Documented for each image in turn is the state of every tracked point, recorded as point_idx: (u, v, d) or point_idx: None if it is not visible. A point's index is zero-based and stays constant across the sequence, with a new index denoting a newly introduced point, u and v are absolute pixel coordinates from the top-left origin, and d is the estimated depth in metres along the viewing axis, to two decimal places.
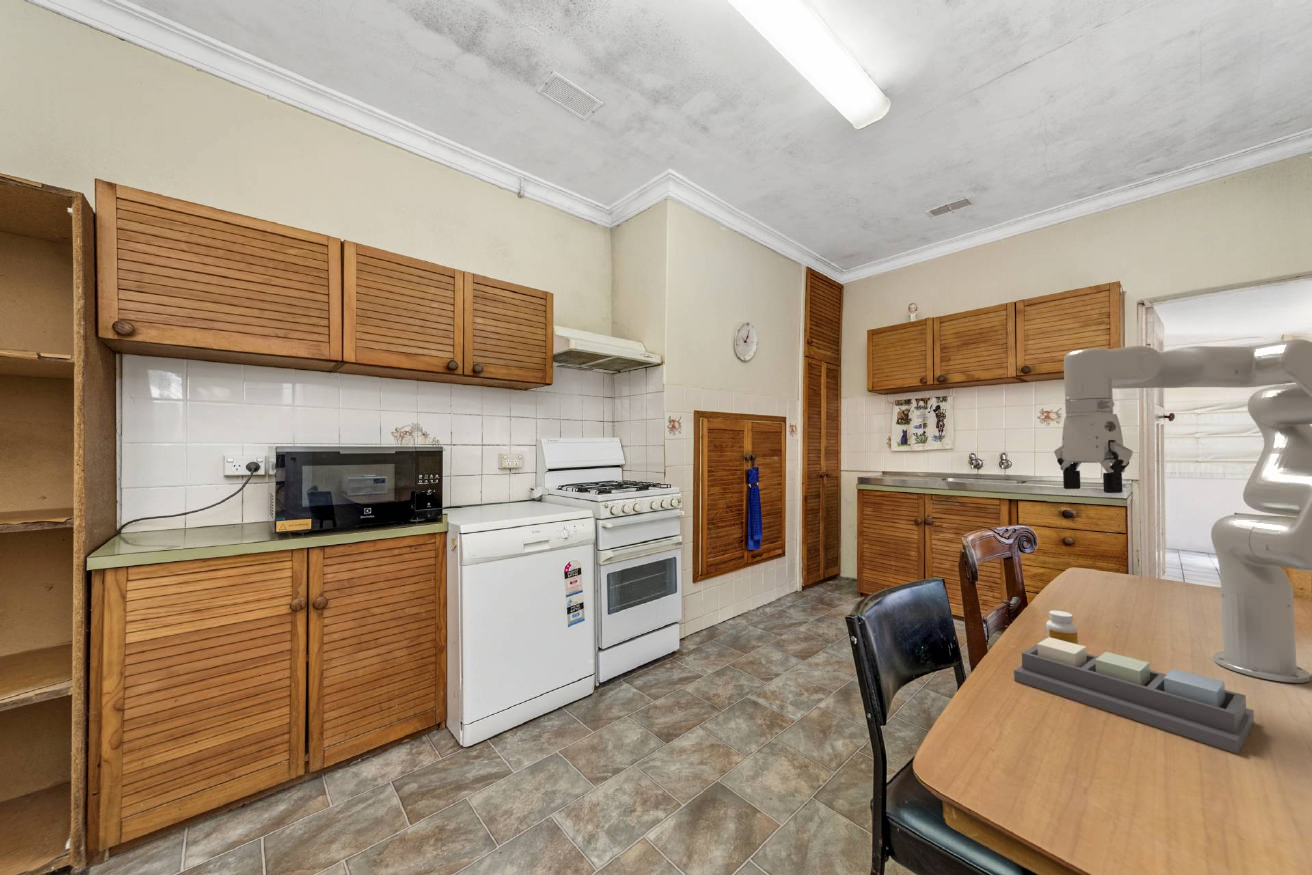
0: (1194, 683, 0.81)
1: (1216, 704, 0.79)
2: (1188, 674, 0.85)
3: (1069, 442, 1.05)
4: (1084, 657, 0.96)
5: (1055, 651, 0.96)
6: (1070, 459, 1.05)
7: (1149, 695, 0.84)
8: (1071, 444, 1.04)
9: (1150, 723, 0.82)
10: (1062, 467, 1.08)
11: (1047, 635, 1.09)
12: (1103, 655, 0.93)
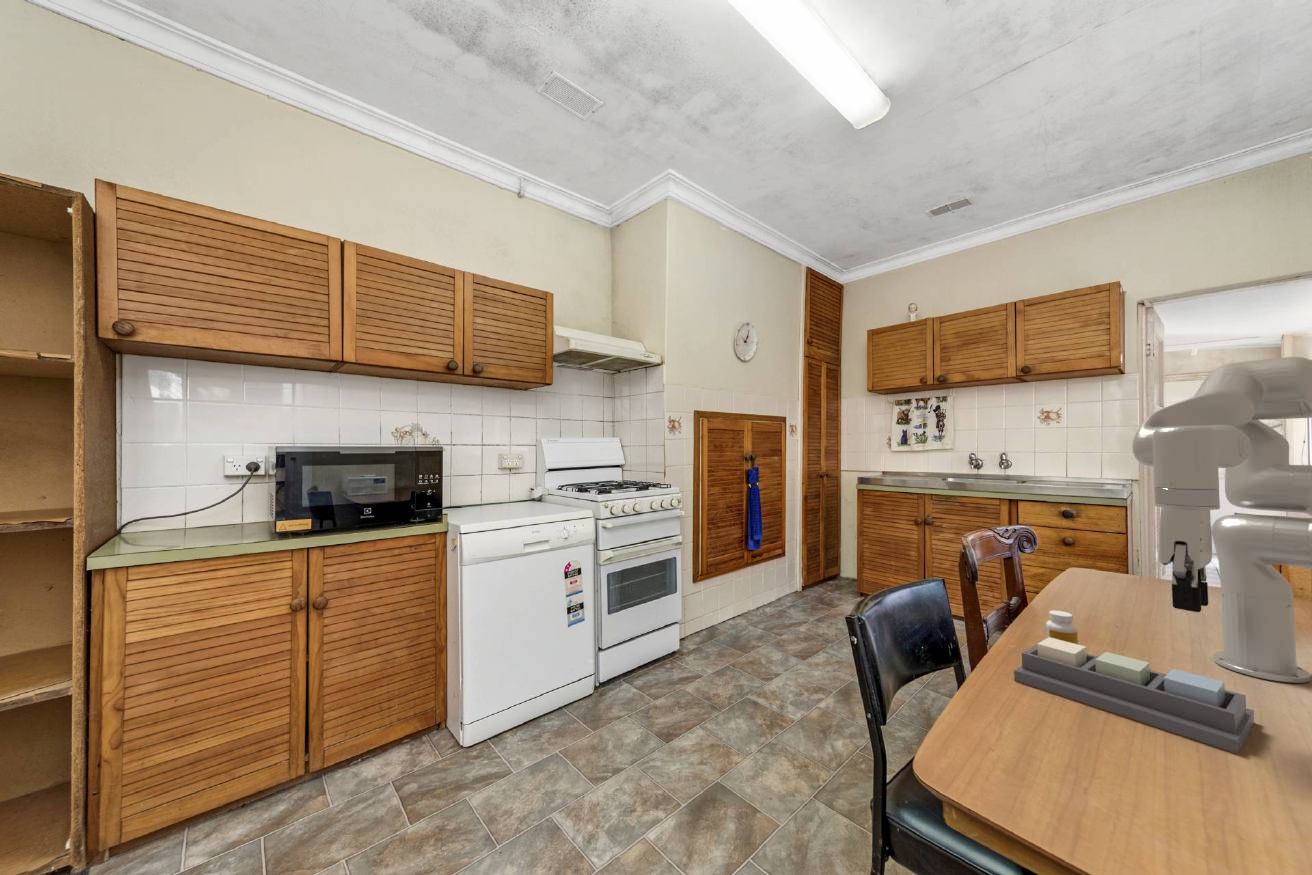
0: (1194, 683, 0.81)
1: (1216, 704, 0.79)
2: (1188, 674, 0.85)
3: (1205, 543, 0.80)
4: (1084, 657, 0.96)
5: (1055, 651, 0.96)
6: (1203, 565, 0.80)
7: (1149, 695, 0.84)
8: (1206, 545, 0.80)
9: (1150, 723, 0.82)
10: (1194, 584, 0.80)
11: (1047, 635, 1.09)
12: (1103, 655, 0.93)
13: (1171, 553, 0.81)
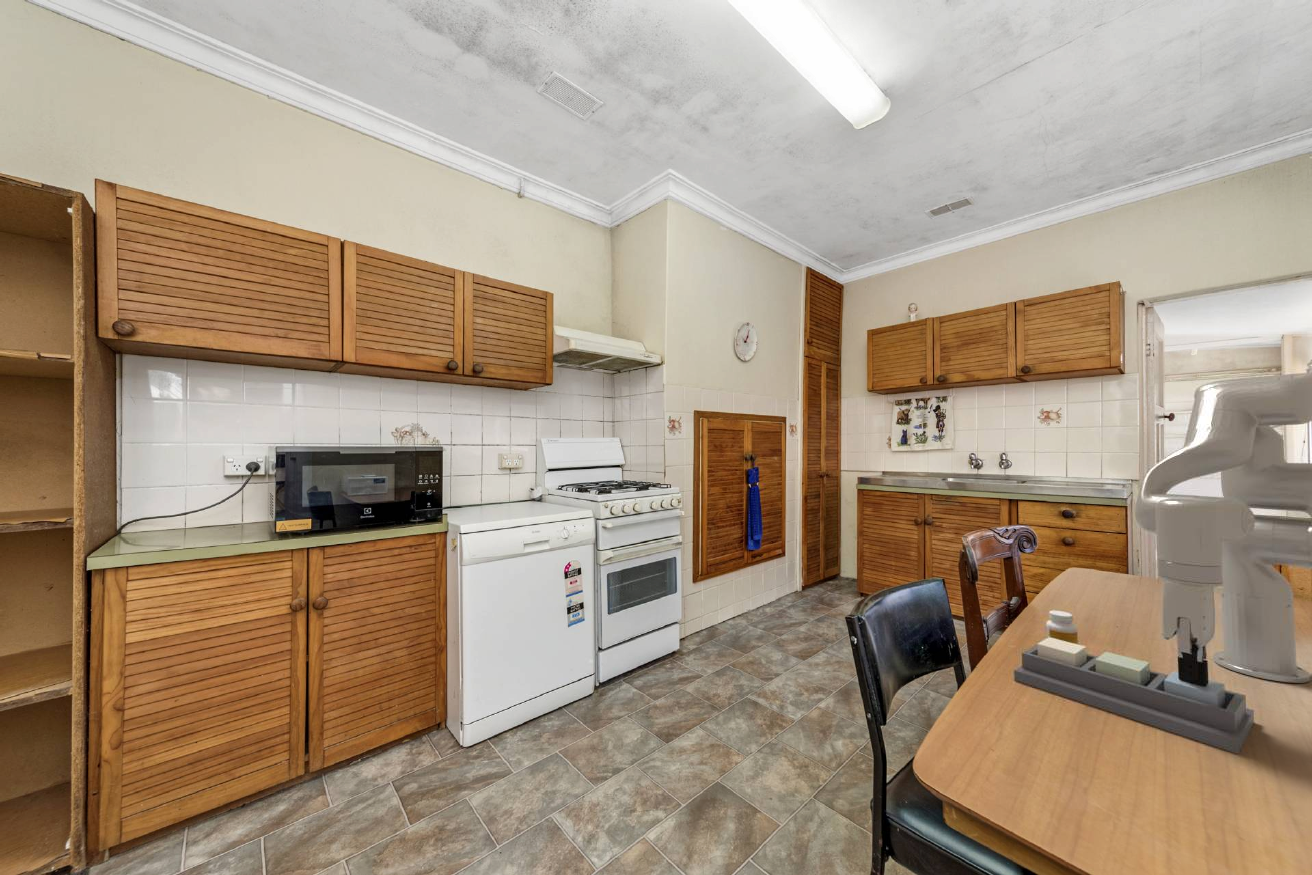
0: (1194, 686, 0.81)
1: None
2: None
3: (1208, 620, 0.80)
4: (1084, 657, 0.96)
5: (1055, 651, 0.96)
6: (1206, 643, 0.80)
7: (1149, 695, 0.84)
8: (1209, 622, 0.80)
9: (1150, 723, 0.82)
10: (1200, 659, 0.81)
11: (1047, 635, 1.09)
12: (1103, 655, 0.93)
13: (1174, 629, 0.81)
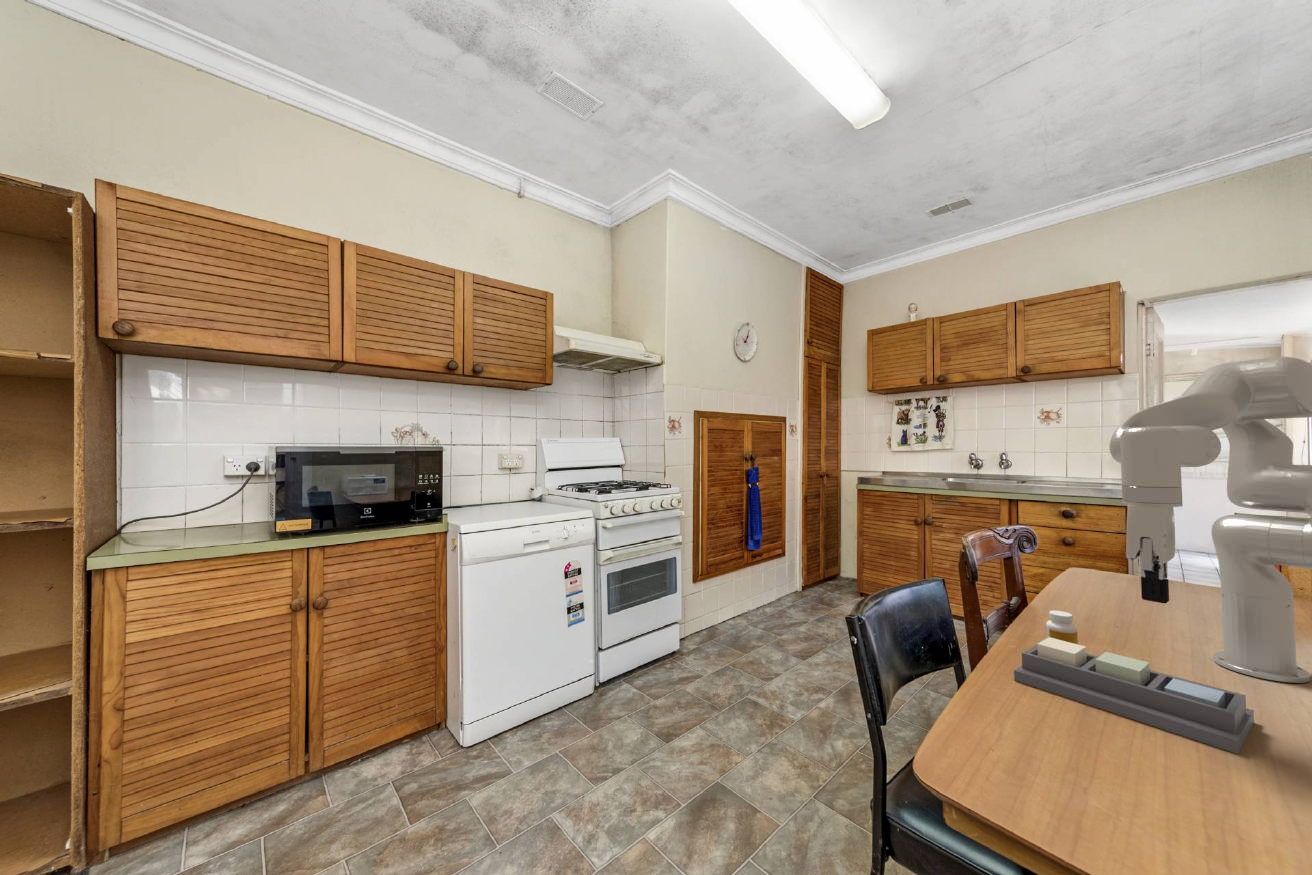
0: (1194, 693, 0.81)
1: None
2: (1188, 684, 0.85)
3: (1169, 539, 0.84)
4: (1084, 657, 0.96)
5: (1055, 651, 0.96)
6: (1166, 560, 0.84)
7: (1149, 695, 0.84)
8: (1170, 541, 0.84)
9: (1150, 723, 0.82)
10: (1161, 577, 0.85)
11: (1047, 635, 1.09)
12: (1103, 655, 0.93)
13: (1137, 548, 0.85)
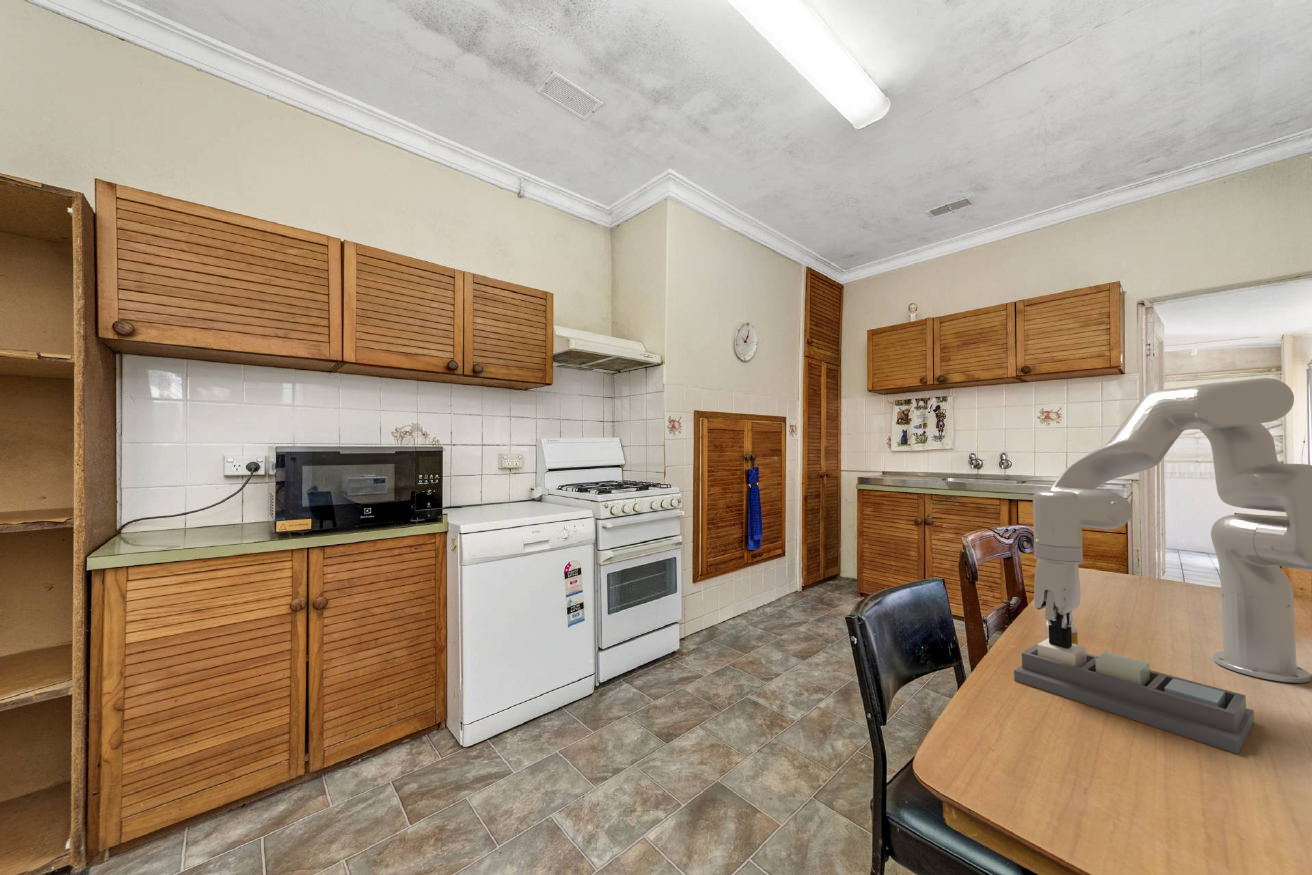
0: (1194, 693, 0.81)
1: None
2: (1188, 684, 0.85)
3: (1069, 592, 0.95)
4: (1084, 657, 0.96)
5: (1055, 652, 0.96)
6: (1067, 611, 0.95)
7: (1149, 695, 0.84)
8: (1070, 594, 0.95)
9: (1150, 723, 0.82)
10: (1064, 625, 0.96)
11: (1047, 635, 1.09)
12: (1103, 655, 0.93)
13: (1042, 600, 0.96)
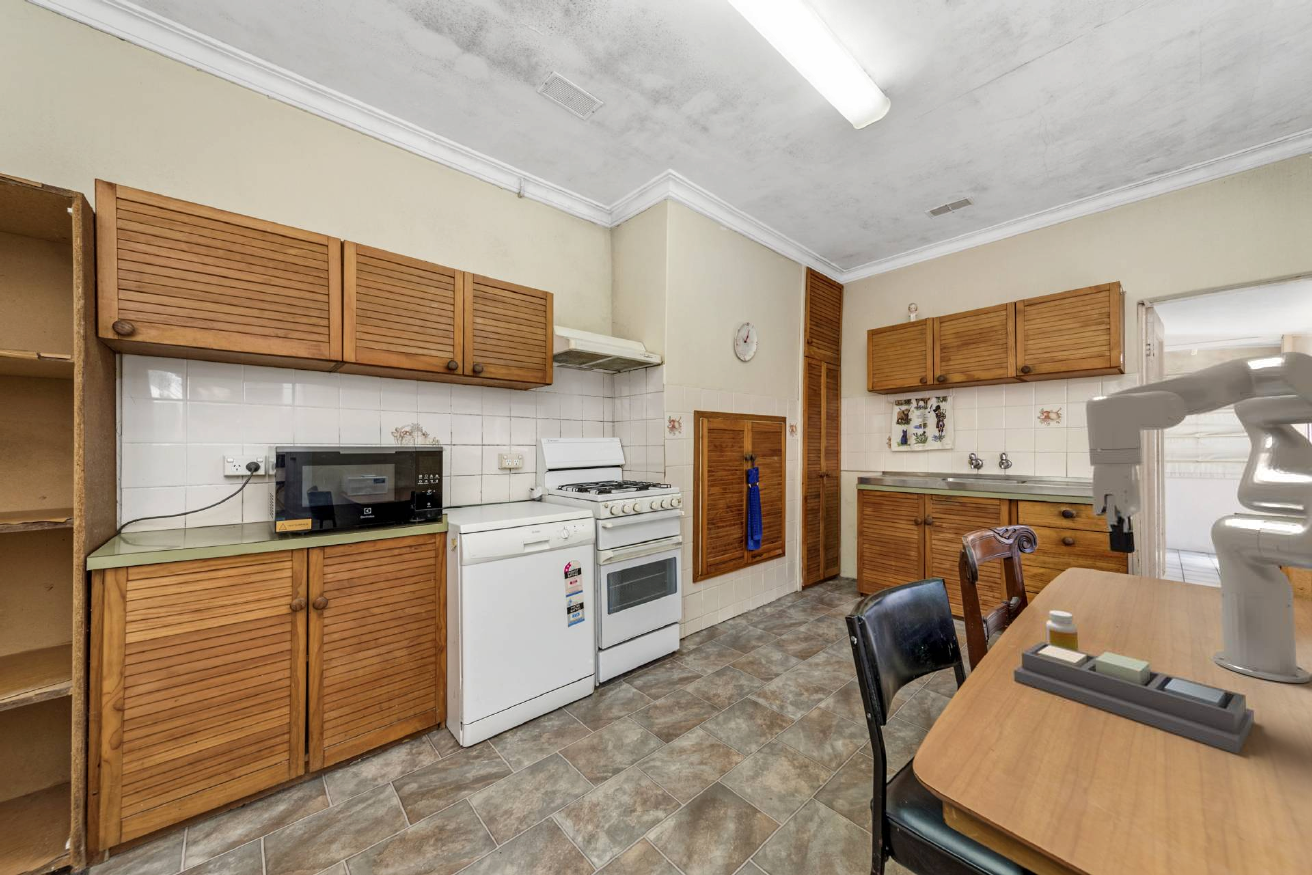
0: (1194, 693, 0.81)
1: None
2: (1188, 684, 0.85)
3: (1130, 495, 0.93)
4: None
5: (1055, 660, 0.96)
6: (1129, 514, 0.93)
7: (1149, 695, 0.84)
8: (1131, 497, 0.93)
9: (1150, 723, 0.82)
10: (1126, 530, 0.94)
11: (1047, 635, 1.09)
12: (1103, 655, 0.93)
13: (1102, 505, 0.94)
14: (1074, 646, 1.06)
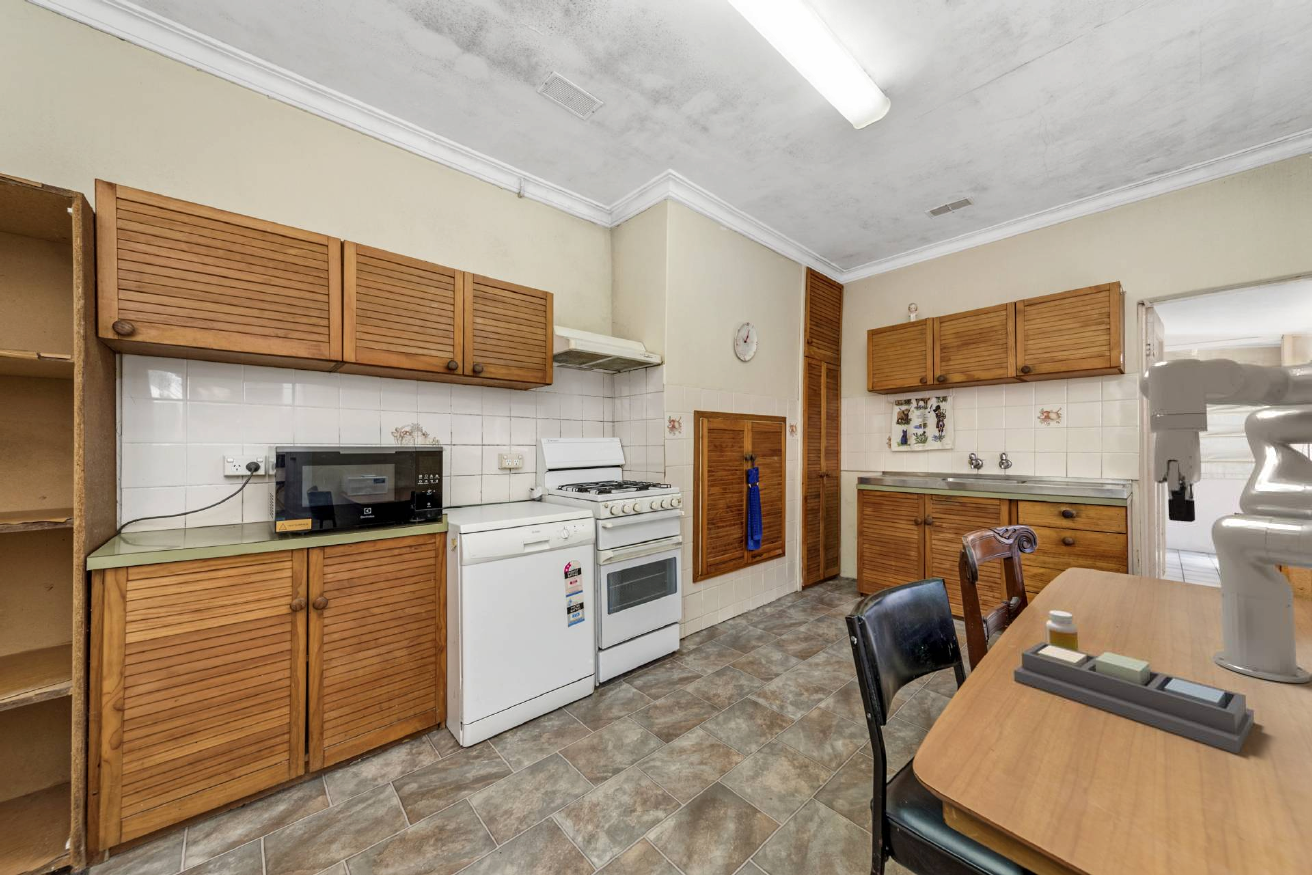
0: (1194, 693, 0.81)
1: None
2: (1188, 684, 0.85)
3: (1194, 461, 0.91)
4: None
5: (1055, 660, 0.96)
6: (1192, 481, 0.91)
7: (1149, 695, 0.84)
8: (1195, 463, 0.91)
9: (1150, 723, 0.82)
10: (1187, 498, 0.92)
11: (1047, 635, 1.09)
12: (1103, 655, 0.93)
13: (1164, 471, 0.92)
14: (1074, 646, 1.06)
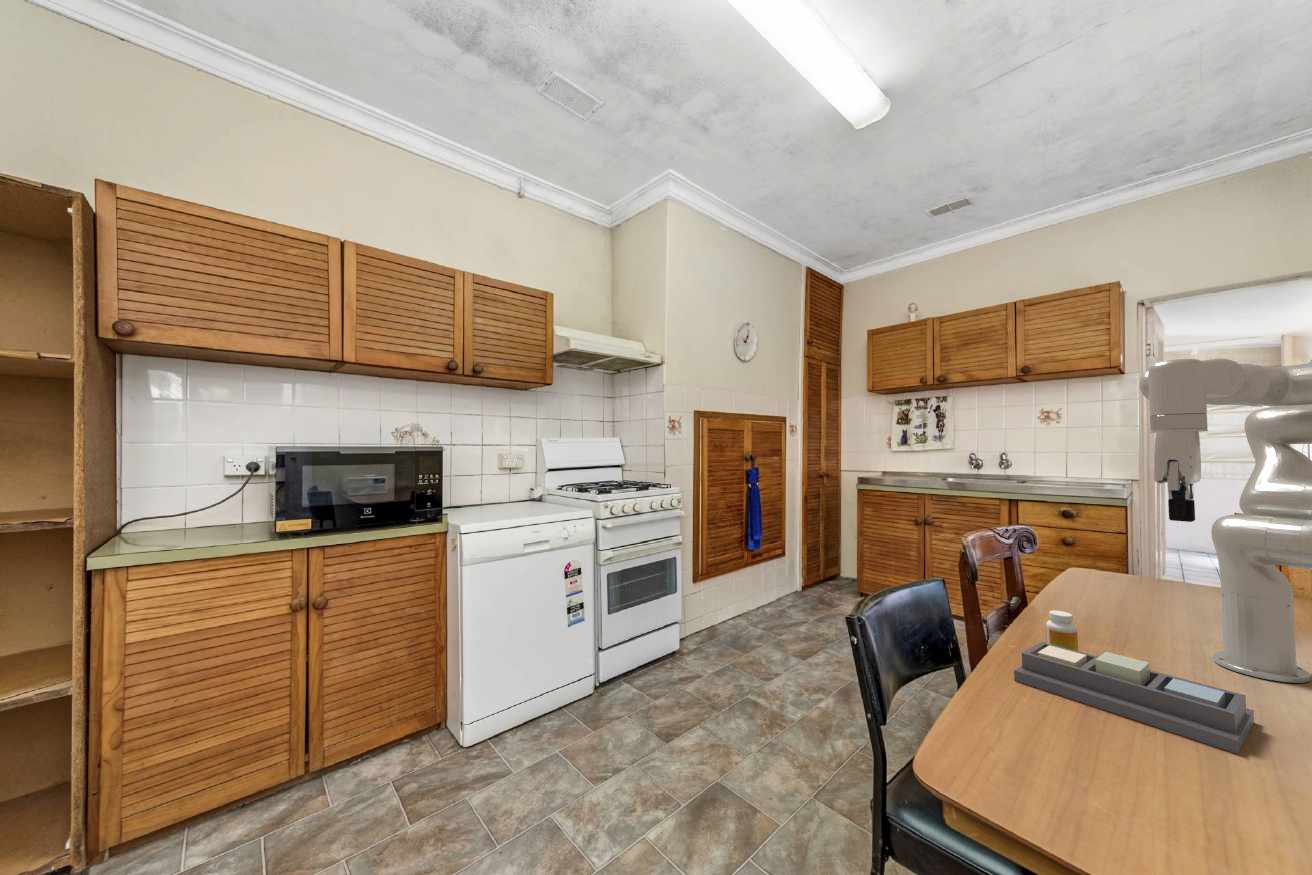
0: (1194, 693, 0.81)
1: None
2: (1188, 684, 0.85)
3: (1194, 461, 0.91)
4: None
5: (1055, 660, 0.96)
6: (1192, 481, 0.91)
7: (1149, 695, 0.84)
8: (1195, 463, 0.91)
9: (1150, 723, 0.82)
10: (1188, 498, 0.92)
11: (1047, 635, 1.09)
12: (1103, 655, 0.93)
13: (1164, 471, 0.92)
14: (1074, 646, 1.06)
